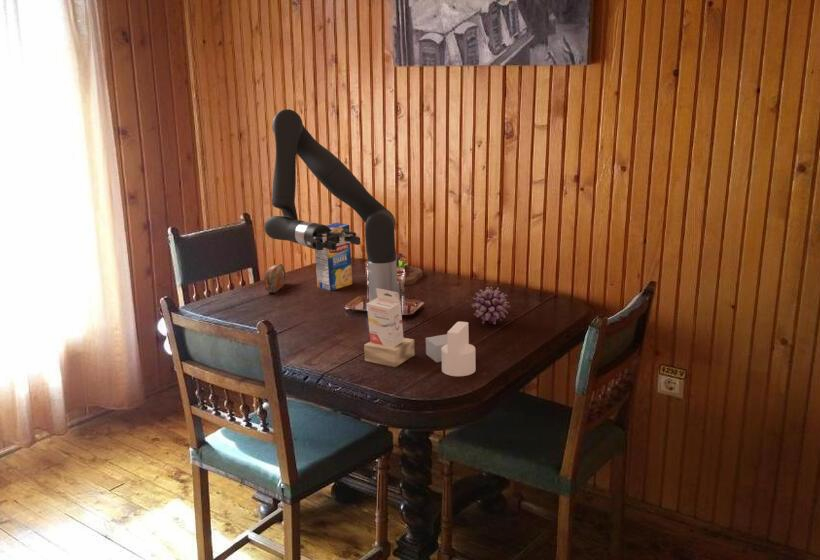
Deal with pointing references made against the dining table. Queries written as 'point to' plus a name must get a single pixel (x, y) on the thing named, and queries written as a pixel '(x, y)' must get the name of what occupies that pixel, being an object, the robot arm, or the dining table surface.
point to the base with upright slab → (458, 352)
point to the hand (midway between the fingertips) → (347, 243)
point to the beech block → (389, 353)
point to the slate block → (436, 346)
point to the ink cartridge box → (385, 319)
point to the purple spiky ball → (490, 305)
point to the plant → (409, 271)
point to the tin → (274, 278)
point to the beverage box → (334, 263)
